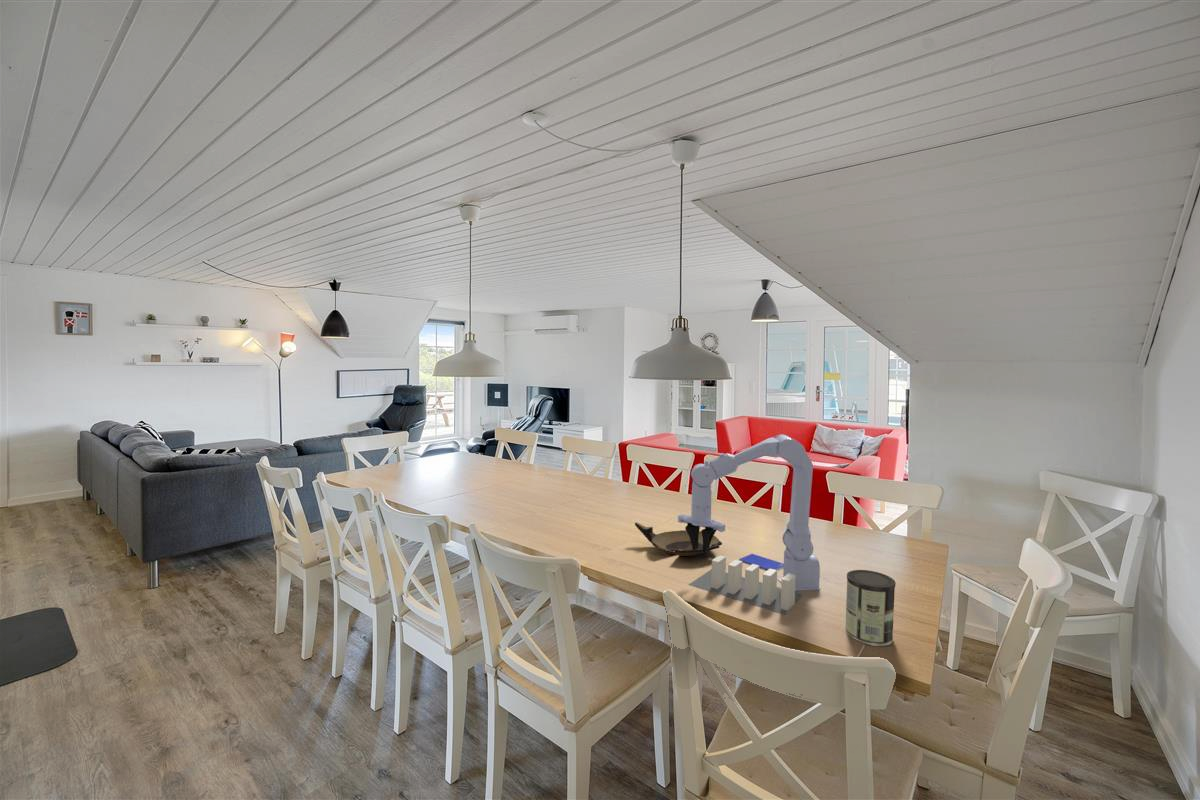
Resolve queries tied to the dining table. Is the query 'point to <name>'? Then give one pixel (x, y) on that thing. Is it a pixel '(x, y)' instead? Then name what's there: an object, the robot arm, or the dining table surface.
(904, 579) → the dining table surface
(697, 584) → the mat
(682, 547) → the oil lamp
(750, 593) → the domino
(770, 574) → the domino
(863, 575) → the coffee can
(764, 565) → the hard drive
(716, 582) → the domino
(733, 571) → the domino
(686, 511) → the dining table surface
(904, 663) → the dining table surface
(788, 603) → the domino
